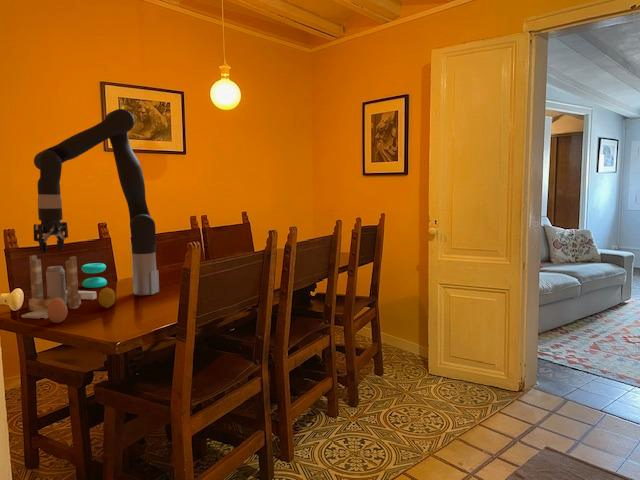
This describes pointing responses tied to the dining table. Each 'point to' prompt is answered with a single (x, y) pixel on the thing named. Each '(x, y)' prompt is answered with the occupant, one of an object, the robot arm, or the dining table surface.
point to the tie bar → (87, 294)
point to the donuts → (95, 281)
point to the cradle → (37, 287)
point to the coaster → (36, 314)
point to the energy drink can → (56, 283)
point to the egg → (57, 310)
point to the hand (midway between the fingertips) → (52, 251)
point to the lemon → (106, 297)
